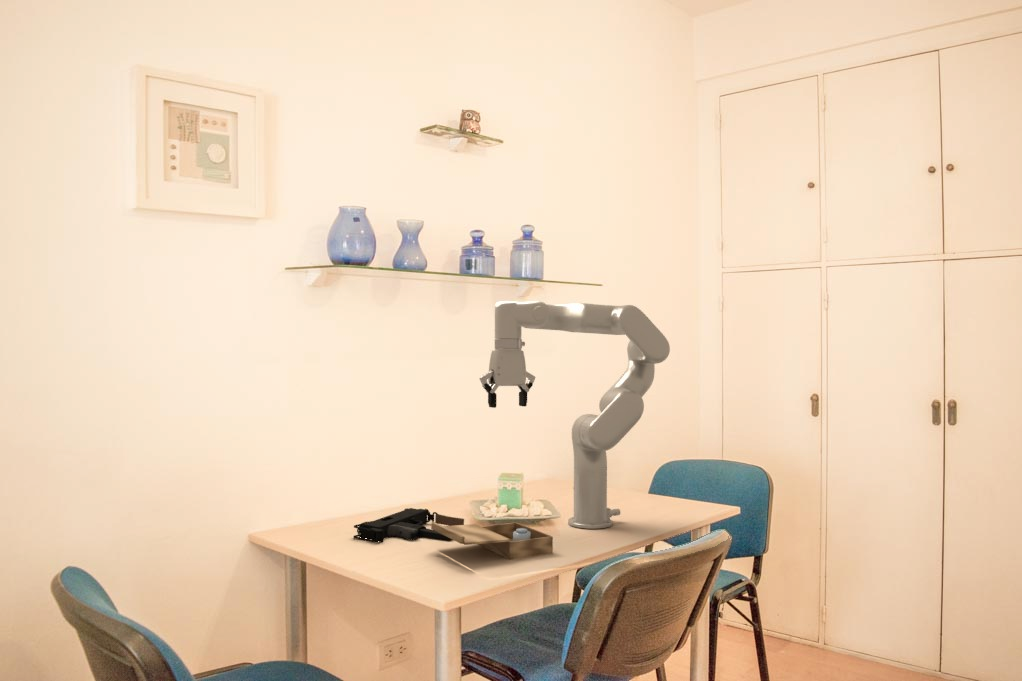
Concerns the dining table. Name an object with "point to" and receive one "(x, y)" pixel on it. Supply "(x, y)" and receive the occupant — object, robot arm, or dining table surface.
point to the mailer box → (519, 542)
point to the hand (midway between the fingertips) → (507, 406)
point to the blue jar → (521, 534)
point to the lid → (469, 534)
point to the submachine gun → (405, 526)
